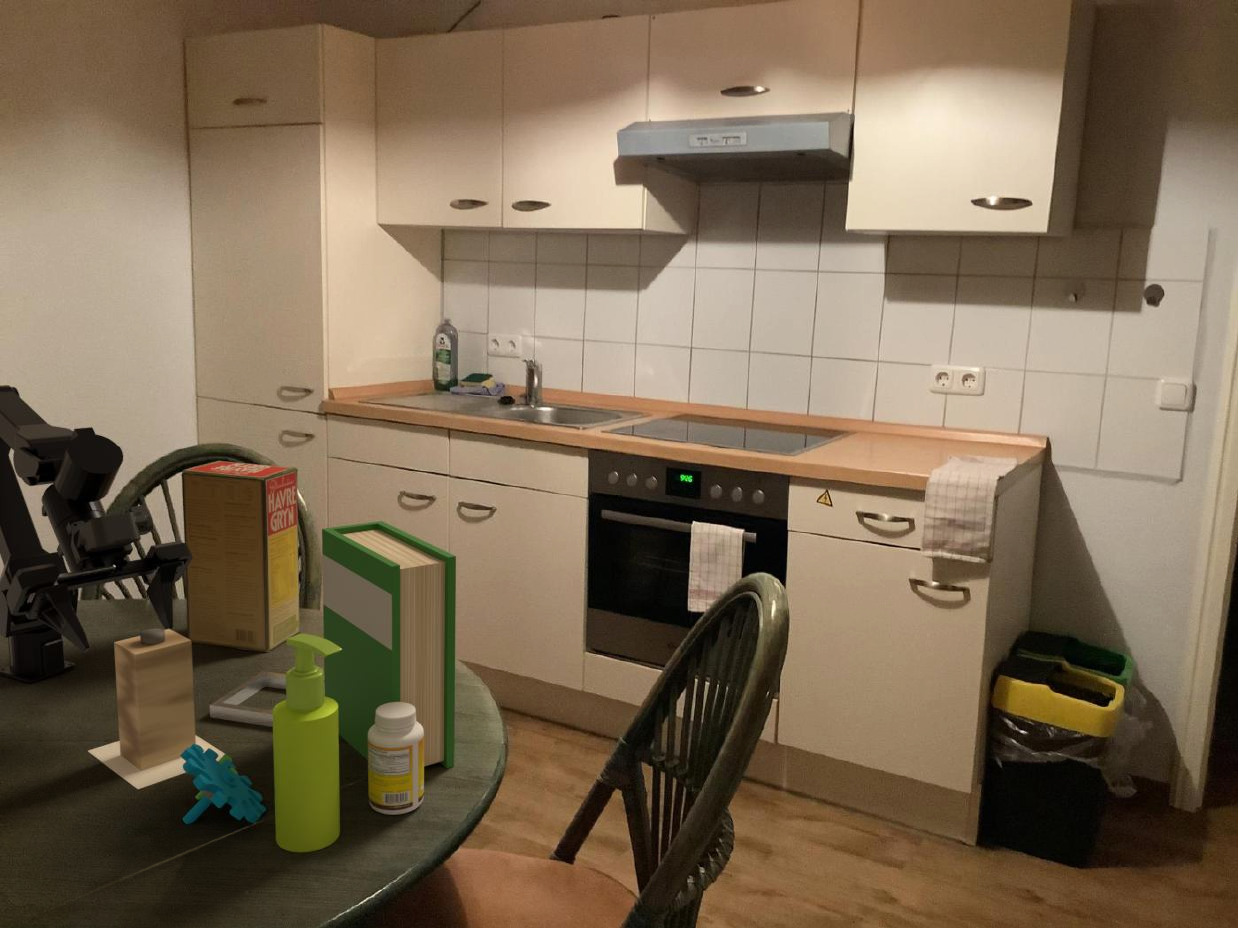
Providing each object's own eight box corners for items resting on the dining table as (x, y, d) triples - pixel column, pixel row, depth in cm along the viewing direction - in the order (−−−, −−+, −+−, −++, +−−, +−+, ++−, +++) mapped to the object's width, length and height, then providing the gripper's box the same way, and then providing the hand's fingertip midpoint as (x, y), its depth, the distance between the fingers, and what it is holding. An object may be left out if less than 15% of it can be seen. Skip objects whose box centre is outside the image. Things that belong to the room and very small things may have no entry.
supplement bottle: (401, 783, 108) (400, 693, 106) (435, 802, 105) (435, 709, 103) (356, 803, 104) (355, 709, 102) (390, 823, 100) (390, 726, 99)
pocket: (210, 719, 122) (209, 704, 121) (262, 684, 132) (262, 671, 132) (293, 731, 119) (293, 717, 119) (340, 695, 130) (339, 681, 129)
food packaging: (303, 631, 151) (300, 466, 147) (268, 653, 142) (263, 478, 138) (223, 621, 154) (218, 458, 150) (184, 642, 145) (176, 470, 141)
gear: (267, 826, 96) (184, 759, 94) (220, 875, 95) (136, 808, 93) (273, 784, 107) (199, 723, 105) (232, 828, 106) (156, 767, 104)
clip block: (120, 755, 111) (113, 633, 109) (174, 737, 116) (168, 620, 113) (141, 770, 108) (135, 645, 106) (196, 752, 113) (190, 631, 110)
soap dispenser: (312, 863, 93) (308, 656, 90) (262, 839, 97) (256, 639, 93) (360, 834, 98) (358, 637, 95) (310, 812, 102) (307, 622, 98)
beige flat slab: (87, 753, 112) (87, 750, 112) (176, 725, 120) (176, 722, 120) (138, 791, 105) (137, 788, 104) (229, 759, 112) (229, 756, 112)
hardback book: (454, 766, 113) (456, 556, 108) (392, 784, 108) (391, 566, 104) (382, 709, 126) (381, 520, 122) (325, 724, 121) (321, 528, 117)
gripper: (8, 496, 107) (58, 622, 102) (181, 474, 121) (233, 584, 116) (-14, 554, 113) (32, 675, 108) (153, 527, 127) (201, 633, 122)
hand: (129, 639), depth 113 cm, fingers open, 9 cm apart
